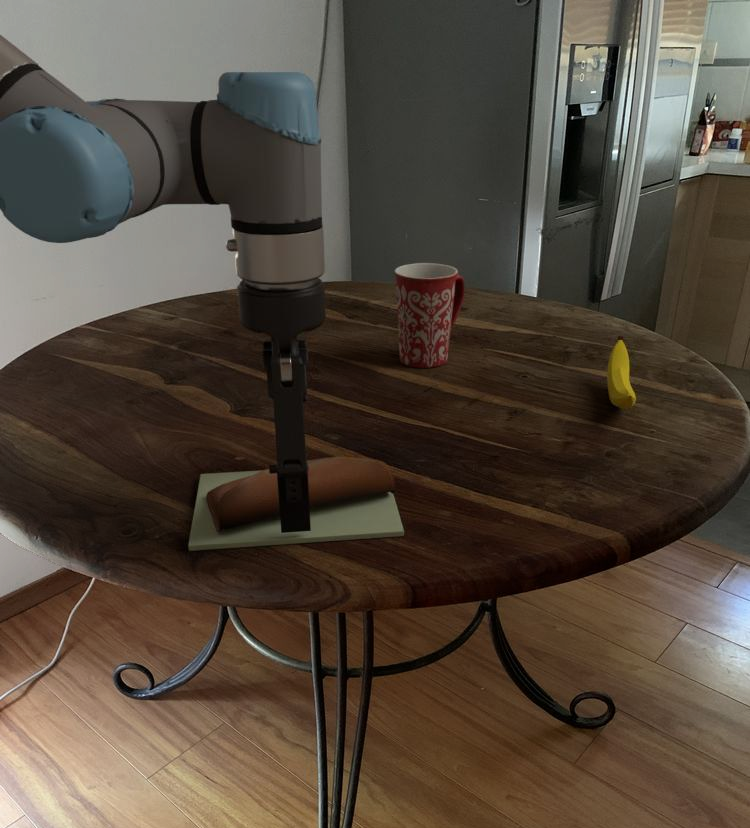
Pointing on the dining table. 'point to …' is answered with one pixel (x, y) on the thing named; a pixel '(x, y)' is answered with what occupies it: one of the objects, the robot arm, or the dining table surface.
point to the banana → (620, 377)
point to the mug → (427, 311)
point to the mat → (327, 524)
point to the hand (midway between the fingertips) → (294, 493)
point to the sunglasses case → (325, 484)
